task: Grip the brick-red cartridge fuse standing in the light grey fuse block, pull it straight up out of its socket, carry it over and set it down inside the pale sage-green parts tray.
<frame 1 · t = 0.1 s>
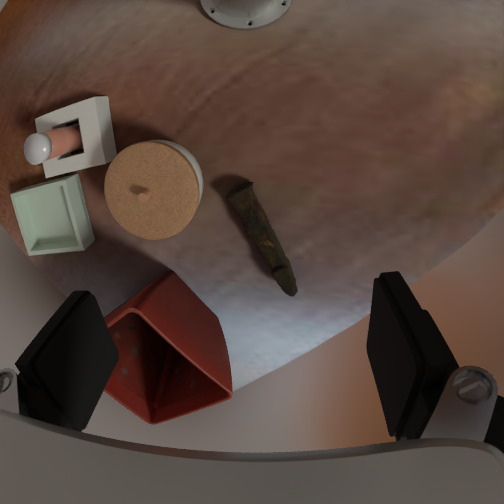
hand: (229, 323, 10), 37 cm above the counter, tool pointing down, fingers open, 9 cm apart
fuse block: (81, 135, 43), on the counter
plant pot: (171, 310, 56), on the counter
blown fuse: (59, 141, 37), in the fuse block
parts tray: (56, 212, 49), on the counter
hand tool: (271, 236, 49), on the counter
lidded bowl: (170, 175, 45), on the counter
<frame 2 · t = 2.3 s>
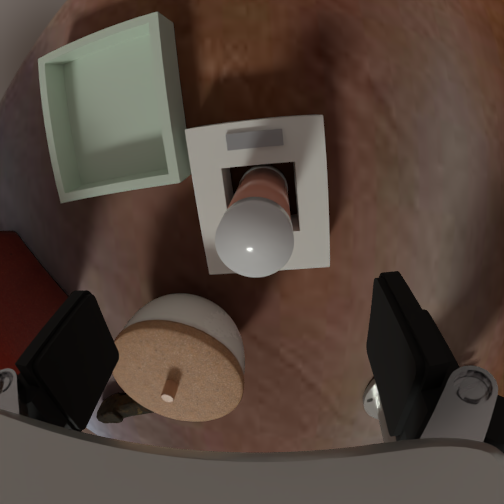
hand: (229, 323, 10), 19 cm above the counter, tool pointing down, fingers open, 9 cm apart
fuse block: (263, 187, 27), on the counter
plant pot: (26, 286, 35), on the counter
blown fuse: (260, 207, 22), in the fuse block
parts tray: (120, 109, 25), on the counter
hand tool: (145, 394, 42), on the counter
lidded bowl: (194, 321, 35), on the counter
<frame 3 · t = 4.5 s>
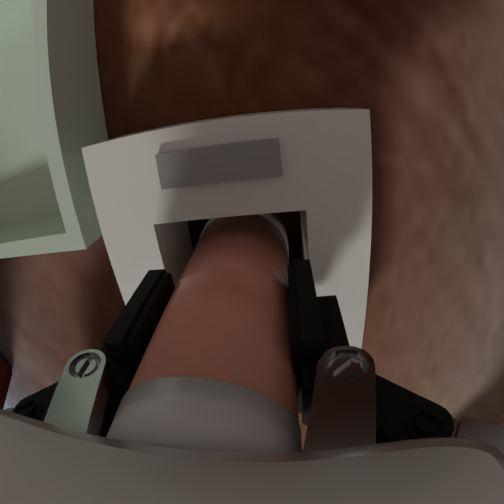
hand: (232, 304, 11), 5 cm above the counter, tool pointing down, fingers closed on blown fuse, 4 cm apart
fuse block: (245, 241, 16), on the counter
blown fuse: (230, 316, 10), in the fuse block, touching gripper
parts tray: (17, 115, 13), on the counter
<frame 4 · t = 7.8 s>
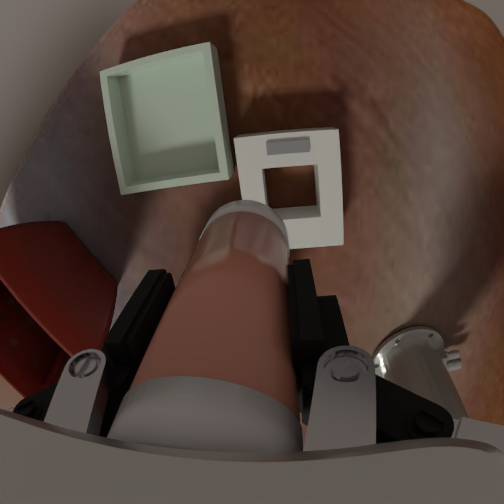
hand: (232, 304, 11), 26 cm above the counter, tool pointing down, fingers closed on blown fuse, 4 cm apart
fuse block: (290, 183, 35), on the counter
plant pot: (69, 272, 43), on the counter
blown fuse: (231, 316, 10), point 26 cm above the counter, touching gripper
parts tray: (172, 118, 32), on the counter
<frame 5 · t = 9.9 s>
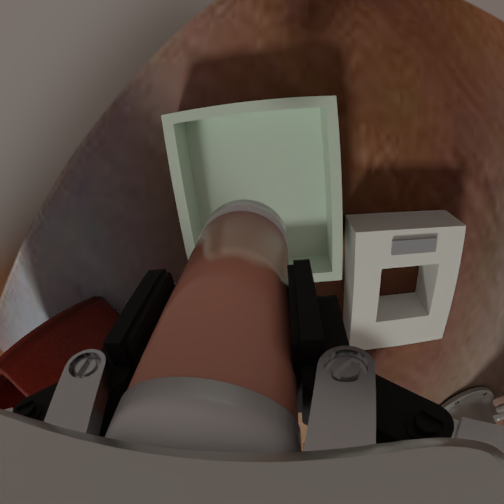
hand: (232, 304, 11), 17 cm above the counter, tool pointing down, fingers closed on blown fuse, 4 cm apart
fuse block: (394, 271, 29), on the counter
plant pot: (108, 348, 36), on the counter
blown fuse: (230, 316, 10), point 18 cm above the counter, touching gripper
parts tray: (260, 186, 26), on the counter
when the fingers open (9 cm above the counter, at t = 11.4 s): blown fuse drops 2 cm, resting on parts tray.
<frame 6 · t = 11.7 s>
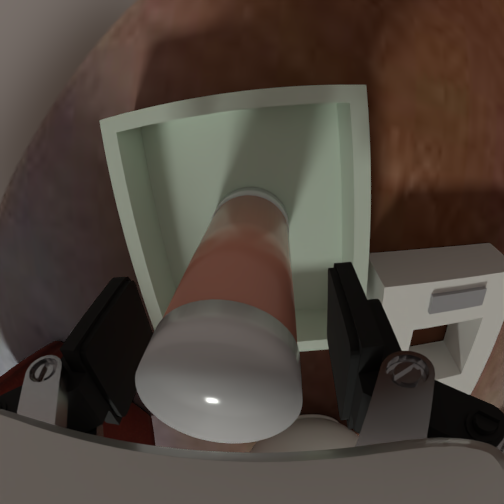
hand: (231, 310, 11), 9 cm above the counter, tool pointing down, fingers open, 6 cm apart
fuse block: (421, 319, 21), on the counter
plant pot: (80, 392, 29), on the counter
blown fuse: (240, 277, 12), in the parts tray, point 7 cm above the counter
parts tray: (250, 216, 19), on the counter
lidded bowl: (305, 431, 29), on the counter
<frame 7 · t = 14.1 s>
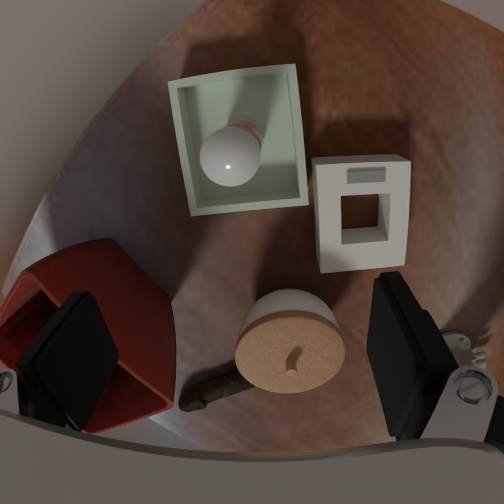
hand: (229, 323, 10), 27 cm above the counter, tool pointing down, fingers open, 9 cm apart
fuse block: (356, 206, 35), on the counter
plant pot: (114, 290, 43), on the counter
blown fuse: (237, 145, 26), in the parts tray, point 7 cm above the counter
parts tray: (242, 136, 33), on the counter
hand tool: (225, 379, 50), on the counter
lidded bowl: (287, 310, 43), on the counter
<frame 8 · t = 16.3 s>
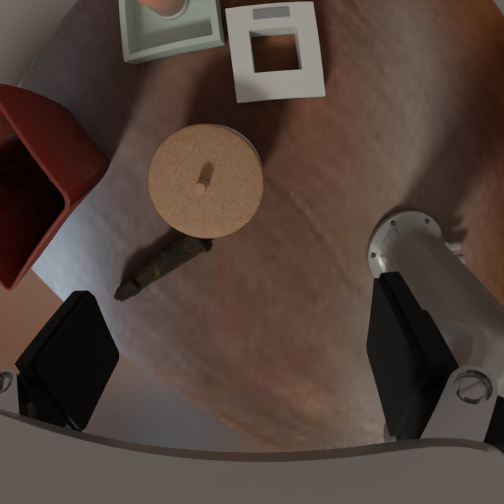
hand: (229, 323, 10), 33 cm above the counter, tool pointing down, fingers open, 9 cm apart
fuse block: (275, 54, 34), on the counter
plant pot: (63, 161, 41), on the counter
parts tray: (174, 8, 31), on the counter
hand tool: (162, 263, 48), on the counter
lidded bowl: (217, 166, 41), on the counter
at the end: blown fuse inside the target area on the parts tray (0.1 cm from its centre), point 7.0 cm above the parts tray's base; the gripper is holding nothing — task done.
